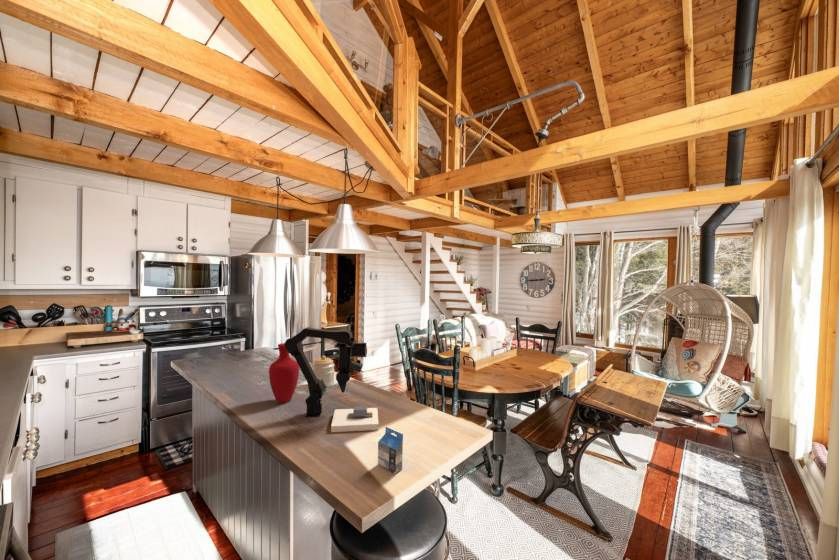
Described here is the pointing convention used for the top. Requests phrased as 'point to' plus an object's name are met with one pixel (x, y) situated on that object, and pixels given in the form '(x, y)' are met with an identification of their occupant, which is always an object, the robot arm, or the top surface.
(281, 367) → the vase
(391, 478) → the top surface
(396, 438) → the label tape cartridge
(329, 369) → the jar
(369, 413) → the servo
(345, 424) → the cream flat slab
